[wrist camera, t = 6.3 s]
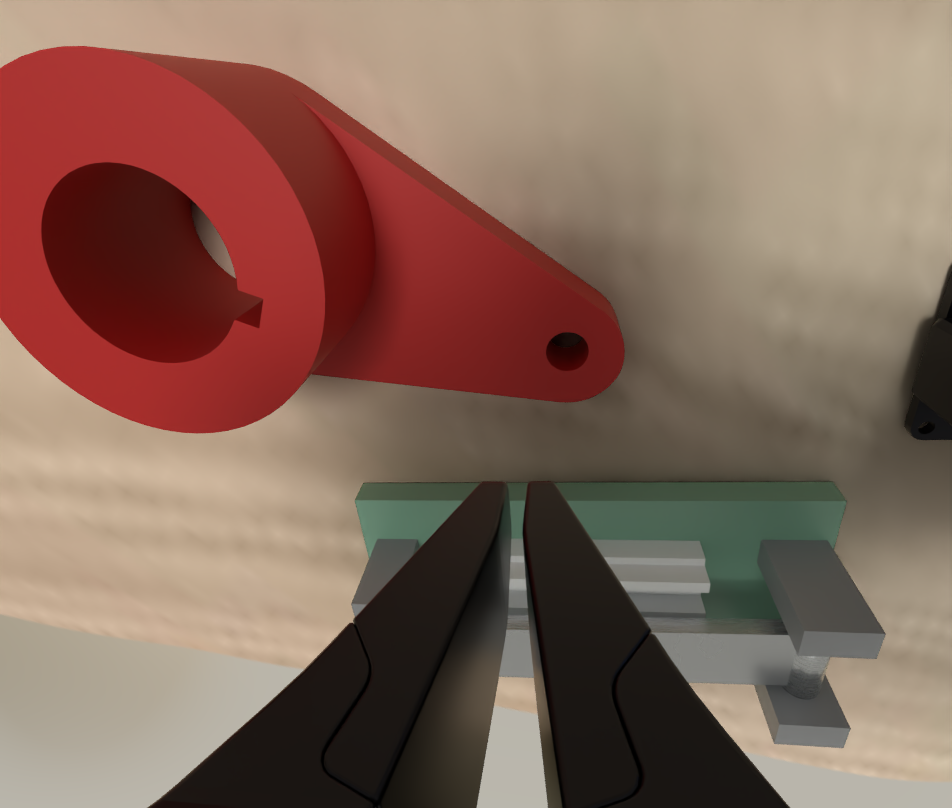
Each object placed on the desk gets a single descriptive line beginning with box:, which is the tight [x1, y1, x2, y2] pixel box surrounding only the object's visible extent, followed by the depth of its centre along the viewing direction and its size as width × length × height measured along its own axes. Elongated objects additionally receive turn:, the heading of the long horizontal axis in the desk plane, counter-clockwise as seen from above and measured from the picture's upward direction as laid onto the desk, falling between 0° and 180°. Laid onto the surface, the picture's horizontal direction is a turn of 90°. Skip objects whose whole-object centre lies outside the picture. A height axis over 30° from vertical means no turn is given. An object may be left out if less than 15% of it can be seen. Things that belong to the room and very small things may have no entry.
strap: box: [499, 615, 830, 700], centre depth 22 cm, size 18×3×2 cm, turn 95°
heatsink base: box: [351, 482, 885, 748], centre depth 23 cm, size 19×10×6 cm, turn 95°
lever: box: [0, 46, 625, 433], centre depth 17 cm, size 18×9×7 cm, turn 72°
